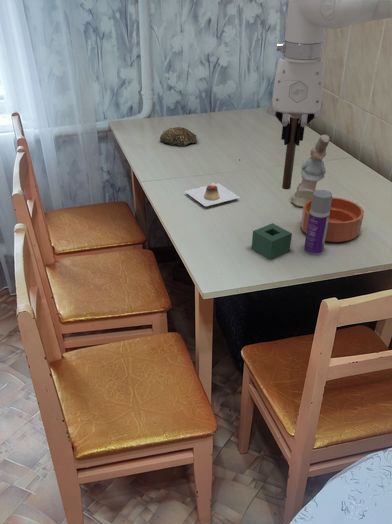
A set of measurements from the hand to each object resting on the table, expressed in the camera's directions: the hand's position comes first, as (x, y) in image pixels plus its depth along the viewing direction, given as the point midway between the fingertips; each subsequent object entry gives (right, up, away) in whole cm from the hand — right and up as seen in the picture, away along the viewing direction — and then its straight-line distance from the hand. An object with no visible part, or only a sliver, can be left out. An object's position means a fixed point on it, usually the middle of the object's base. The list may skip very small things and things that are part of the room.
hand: (291, 142), depth 121 cm
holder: (-3, -21, +15) cm, 26 cm away
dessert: (-17, -1, +39) cm, 43 cm away
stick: (0, -8, +7) cm, 11 cm away
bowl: (+14, -14, +24) cm, 31 cm away
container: (+8, -21, +16) cm, 28 cm away
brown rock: (-27, +30, +77) cm, 87 cm away
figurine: (+11, -3, +37) cm, 39 cm away
